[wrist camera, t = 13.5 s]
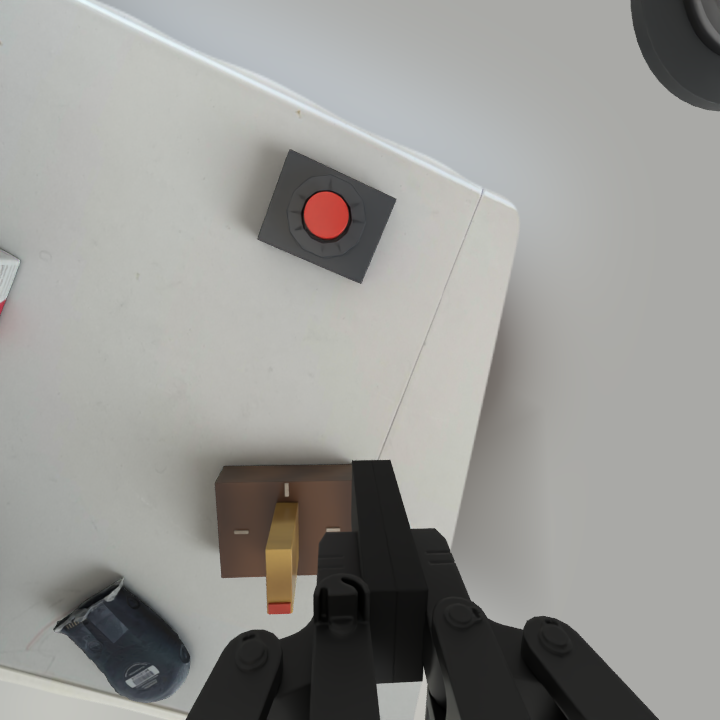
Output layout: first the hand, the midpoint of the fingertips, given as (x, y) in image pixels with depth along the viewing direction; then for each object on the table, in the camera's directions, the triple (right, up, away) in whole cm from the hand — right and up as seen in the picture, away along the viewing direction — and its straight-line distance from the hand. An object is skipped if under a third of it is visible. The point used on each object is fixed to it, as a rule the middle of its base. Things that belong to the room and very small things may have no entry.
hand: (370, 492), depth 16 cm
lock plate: (-8, -11, +29) cm, 33 cm away
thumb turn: (-8, -12, +26) cm, 30 cm away
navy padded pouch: (-26, -27, +32) cm, 49 cm away
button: (-3, +17, +19) cm, 26 cm away
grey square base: (-4, +18, +23) cm, 29 cm away
